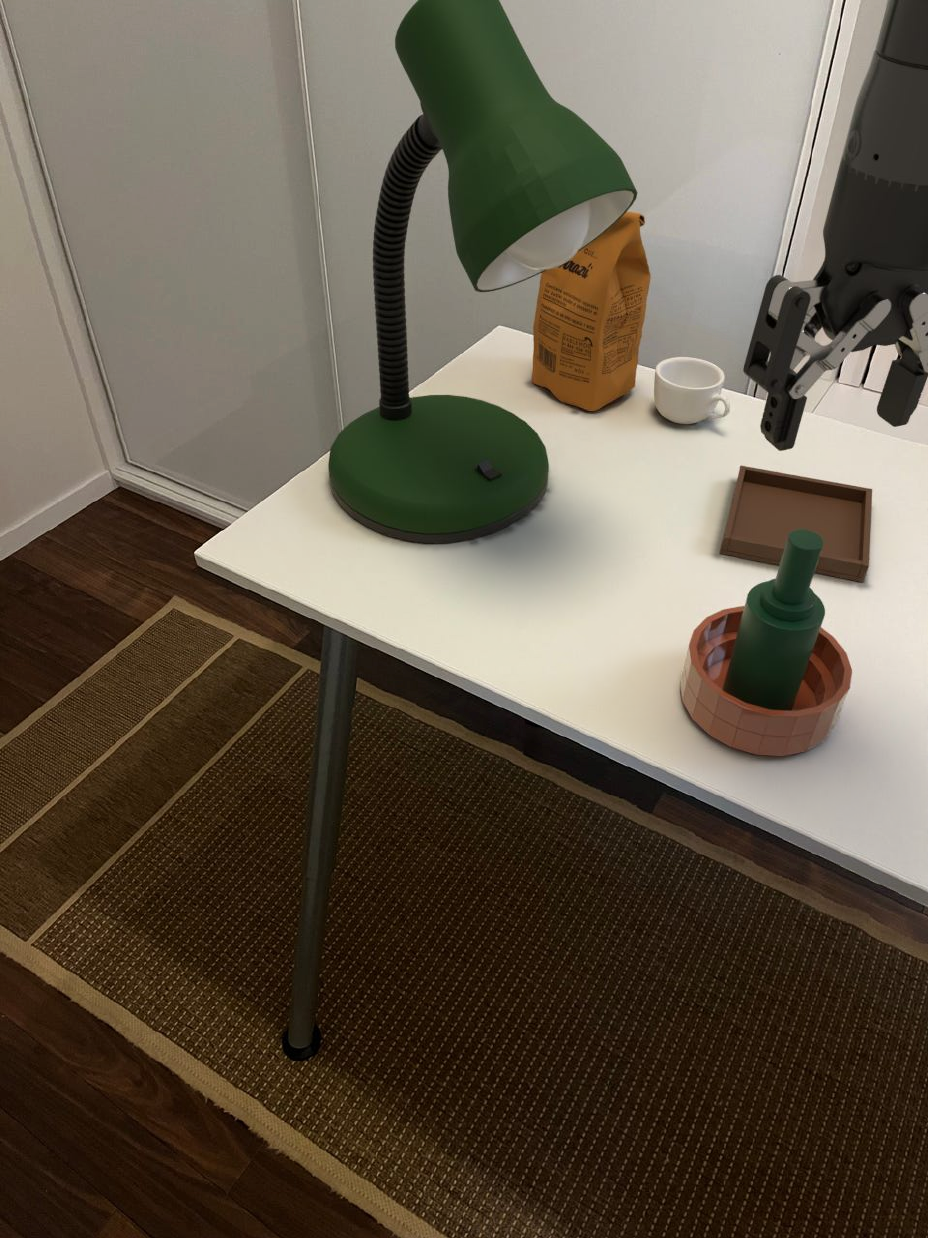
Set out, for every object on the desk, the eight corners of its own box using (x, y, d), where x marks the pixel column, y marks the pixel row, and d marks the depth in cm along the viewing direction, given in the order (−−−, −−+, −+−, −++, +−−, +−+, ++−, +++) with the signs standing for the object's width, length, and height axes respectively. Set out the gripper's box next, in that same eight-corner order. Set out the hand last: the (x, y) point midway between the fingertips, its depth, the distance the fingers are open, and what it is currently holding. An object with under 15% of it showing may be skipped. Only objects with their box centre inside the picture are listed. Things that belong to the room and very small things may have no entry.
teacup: (635, 411, 111) (641, 369, 107) (679, 391, 114) (686, 350, 111) (701, 447, 105) (709, 403, 101) (744, 425, 108) (754, 382, 105)
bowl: (859, 695, 77) (877, 651, 73) (792, 786, 70) (809, 742, 67) (725, 629, 83) (736, 586, 79) (651, 708, 76) (660, 663, 72)
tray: (866, 505, 97) (872, 488, 95) (862, 582, 87) (869, 565, 86) (736, 481, 100) (740, 465, 99) (719, 553, 91) (723, 536, 89)
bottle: (804, 694, 76) (861, 536, 65) (773, 734, 73) (827, 575, 62) (742, 662, 79) (786, 506, 68) (709, 700, 76) (750, 541, 65)
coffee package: (576, 356, 121) (592, 176, 106) (646, 394, 114) (673, 206, 99) (517, 379, 117) (525, 194, 102) (586, 420, 109) (605, 226, 94)
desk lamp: (648, 521, 95) (736, -12, 64) (478, 617, 84) (488, 31, 54) (452, 403, 112) (450, -60, 82) (291, 470, 101) (220, -34, 71)
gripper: (850, 194, 44) (772, 485, 55) (1084, 163, 48) (968, 441, 58) (759, 149, 49) (705, 422, 60) (977, 123, 53) (888, 386, 64)
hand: (835, 431), depth 59 cm, fingers open, 8 cm apart
